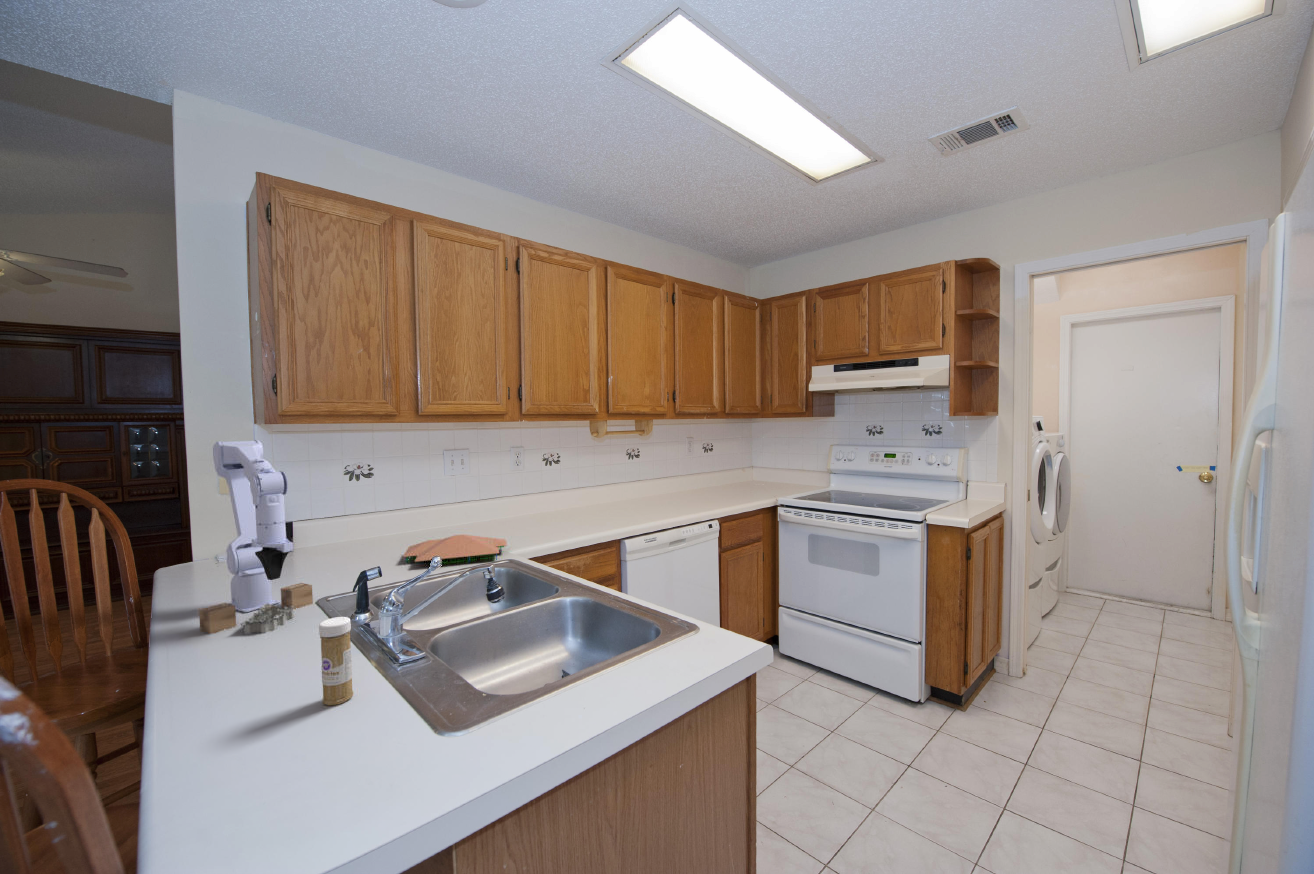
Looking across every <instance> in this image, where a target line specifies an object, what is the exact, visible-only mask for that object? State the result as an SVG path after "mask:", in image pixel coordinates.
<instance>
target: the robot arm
mask: <svg viewBox="0 0 1314 874" xmlns="http://www.w3.org/2000/svg"><path fill="white" fill-rule="evenodd" d="M212 458H213V464H214V465H213V466H214V468H215V472H216V476H218V477H221V478H223V479H225V483H227V488H228V491H229V497H230V502H231V507H232V512H233V518H234V524H235V529H236V535H237V536H236V538H235V539H234V540H232V541H231V542H230V543H229V544H228V545H227V547H226V550H225V551H226V564H227V565H226V566H227V569H228V571H229V573H230V574H232V575H233V576H232V578H231V581H230V597H231V598H230V599H231V605H234V606H235V611H240V612H242V613H249V612H252V611H257V610H259V609H260V608H261V607H262V606H264V605H266V604H267V603H269V605H276V604H279V603H281V602H280V601H281V600H278V599H273V590H272V589H273V587H272V581H273V580H277V579H280V578H281V576H282V570H283V566H284V562H285V560H286V558H287V556H288V554H289V553H290V552H293V551H294V542H291V541H290V540H289V538H287V530H286V509H285V508H286V507H285V495H286V494H287V492H288V487H289V486H288V485H289V484H288V478H287V476H286V475H287V474H286V473H285V472H284V471H283V470H278V471H276V469H275V468H274V467H273V465H271V463H270V462H269V461H268V460H266V459H264V447H263V444H262V441H260V440H259V439H254V440H238V441H237V440H235V441H234V440H233V441H216V442H215V443H214V444H213V447H212Z"/></svg>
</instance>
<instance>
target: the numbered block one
mask: <svg viewBox="0 0 1314 874" xmlns="http://www.w3.org/2000/svg"><path fill="white" fill-rule="evenodd" d="M313 598H314V596H313V585H312V584H309V583H303V582H299V583H295V584H292V585H289V586H288V585H287V586H285V587H281V588H280V601H281V602H280V603H281V608H283V609H284V607H285V606H286V607H287V608H290V607H291V606H292V607H295V606H296V607H295V608H293V609H294V610H296V608H297V609H300V608H303V606H304V607H306V605H307V606H310V605H313V604H314V599H313Z"/></svg>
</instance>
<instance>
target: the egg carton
mask: <svg viewBox="0 0 1314 874" xmlns="http://www.w3.org/2000/svg"><path fill="white" fill-rule="evenodd" d="M295 607H296V606H295ZM295 607H292V606H291V607H290V608H287V607H286V606H285V607H284V608H283V609H280V607H279V606H278V605H276V604H273V605H269V603H267V604H266V605H264V606H262V607H261V608H260V609H258V611H257V612H255V613H253V614H252V615H251V616H249V617H247V618H246V620H244V621H243V622H241V623H240V624H239V625H240V626H243V633H244V632H245V633H244V634H245V635H250V634H253V633H257V631H261V632H260V633H261V634H267V633H269V631H270V632H274V631H273V630H275V631H276V630H278V627H279V625H280V626H284V625H286V624H287V621H291V620H290V619H292V620H294V619H295V611H294V610H295V609H294V610H293V608H295ZM293 618H294V619H293ZM286 620H287V621H286ZM285 623H286V624H285ZM266 632H267V633H266Z"/></svg>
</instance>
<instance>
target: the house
mask: <svg viewBox="0 0 1314 874" xmlns="http://www.w3.org/2000/svg"><path fill="white" fill-rule="evenodd" d="M507 546H508V545H507V539H505V538H504V539H503V538H496V537H495V538H493V537H487V536H480V535H471V534H470V535H469V534H457V535H456V534H455V535H452V536H448V537H445V538H442V539H441V538H439V539H430V540H429V539H428V540H426V541H422V542H420V543H416V544H413V545H410V546H408V547H407V548H406V551H405V552H404V554H403V555H402V558H405V563H406V562H407V561H408V559H409V557H410V558H412V557H413V561H414V563H416V562H417V563H418V562H424V561H425V562H426V561H427V562H428V561H432V560H431V559H432V558H433V557H434V556H440V557H442V559H441V560H444V561H442V564H443V563H444V564H447V565H449V564H448V563H447V561H446V562H445V559H446V560H448V559H451V562H452V563H456V562H457V561H456V560H454V561H453V559H456V558H457V559H458V558H460V559H459V562H460V563H462V562H464V561H465V559H462V560H461V558H464V557H465V558H468V561H466V564H467V563H468V564H469V562H470V561H475V560H476V559H475V556H476V557H478V556H490V555H491V556H492V557H491V559H493V560H495V561H496V560H497V559H498V557H497V554H500V551H502V548H505V547H507ZM493 555H494V557H493ZM471 557H473V558H474V559H473V558H471ZM488 558H489V557H486V559H487V561H486V562H488ZM481 559H482V560H483V559H484V560H485V557H484V558H483V557H482V558H481ZM409 560H410V559H409ZM461 561H462V562H461ZM408 562H409V561H408Z"/></svg>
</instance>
